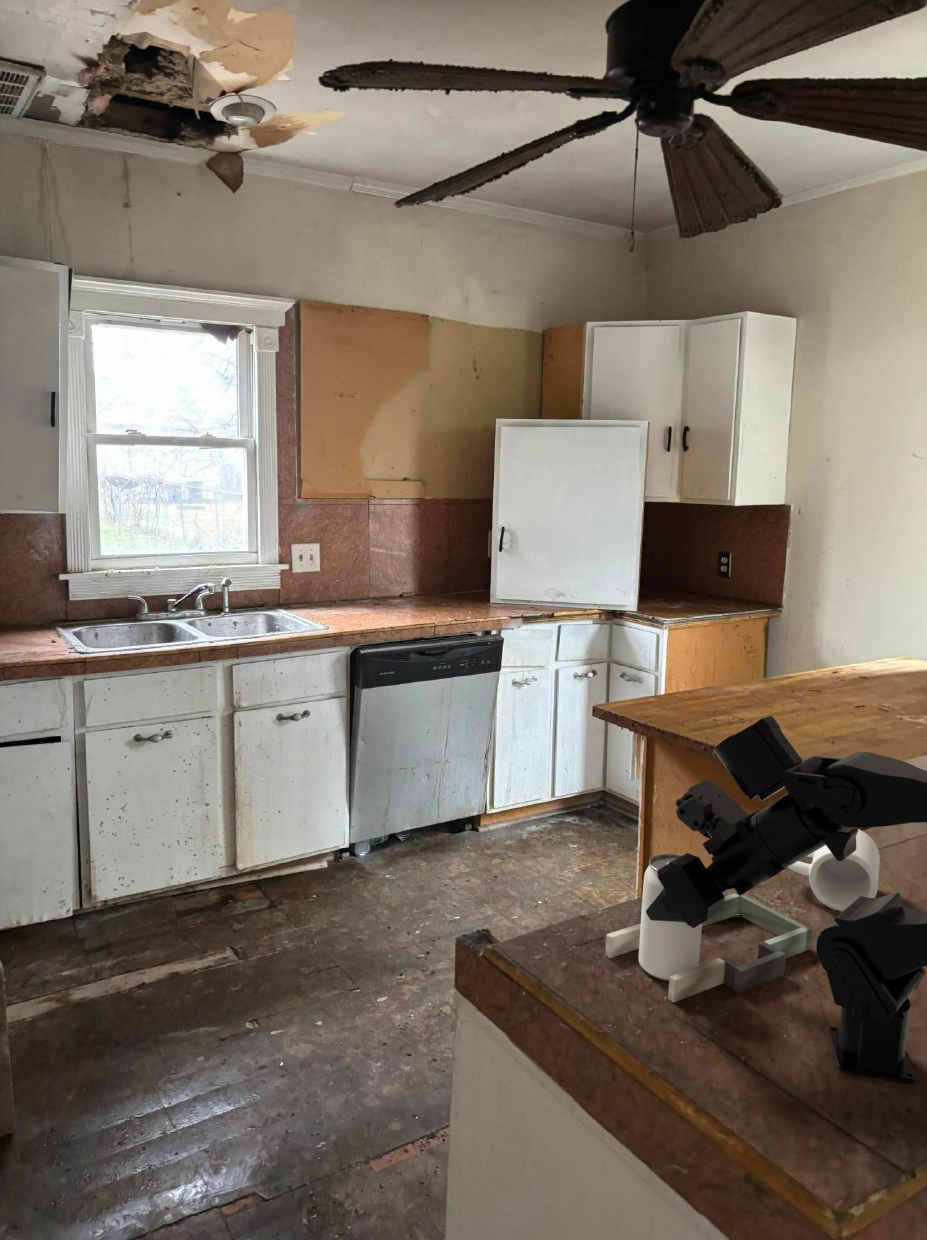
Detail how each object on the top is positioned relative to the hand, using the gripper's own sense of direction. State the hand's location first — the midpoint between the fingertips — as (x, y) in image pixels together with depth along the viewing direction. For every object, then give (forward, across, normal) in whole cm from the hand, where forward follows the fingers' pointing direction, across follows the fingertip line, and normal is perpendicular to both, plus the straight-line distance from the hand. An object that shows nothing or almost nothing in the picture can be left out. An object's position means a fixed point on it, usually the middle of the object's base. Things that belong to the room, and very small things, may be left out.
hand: (671, 901), depth 96 cm
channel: (+4, -6, +7) cm, 10 cm away
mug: (+2, -32, +9) cm, 33 cm away
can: (+5, 0, +6) cm, 8 cm away
